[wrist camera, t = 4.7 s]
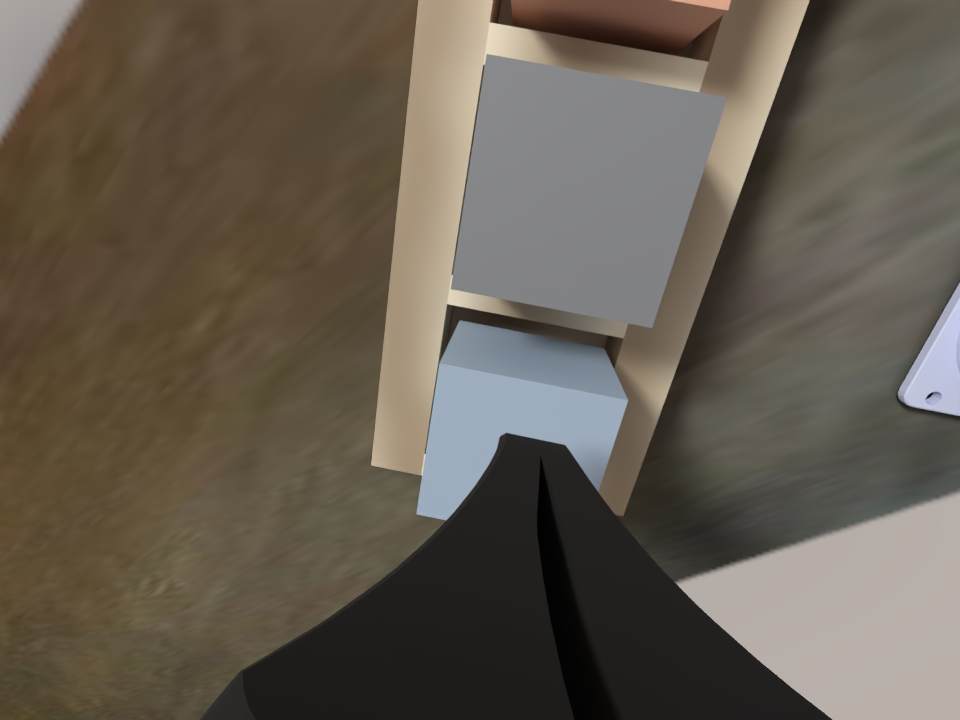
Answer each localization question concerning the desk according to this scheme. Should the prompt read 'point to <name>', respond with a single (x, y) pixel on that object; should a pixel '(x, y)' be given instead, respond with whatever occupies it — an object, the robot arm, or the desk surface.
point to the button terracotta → (622, 20)
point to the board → (441, 192)
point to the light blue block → (515, 407)
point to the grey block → (580, 188)
